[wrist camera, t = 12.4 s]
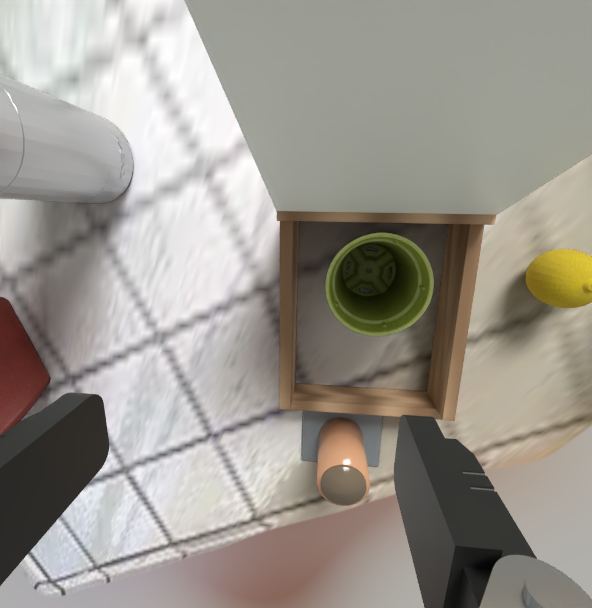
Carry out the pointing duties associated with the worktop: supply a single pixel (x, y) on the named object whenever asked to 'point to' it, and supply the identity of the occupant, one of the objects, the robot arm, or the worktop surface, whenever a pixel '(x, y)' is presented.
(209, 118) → the worktop surface
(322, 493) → the tan cylinder
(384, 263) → the plant pot
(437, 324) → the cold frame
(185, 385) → the worktop surface
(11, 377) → the plant pot
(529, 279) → the lemon
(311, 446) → the mat
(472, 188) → the propped lid
